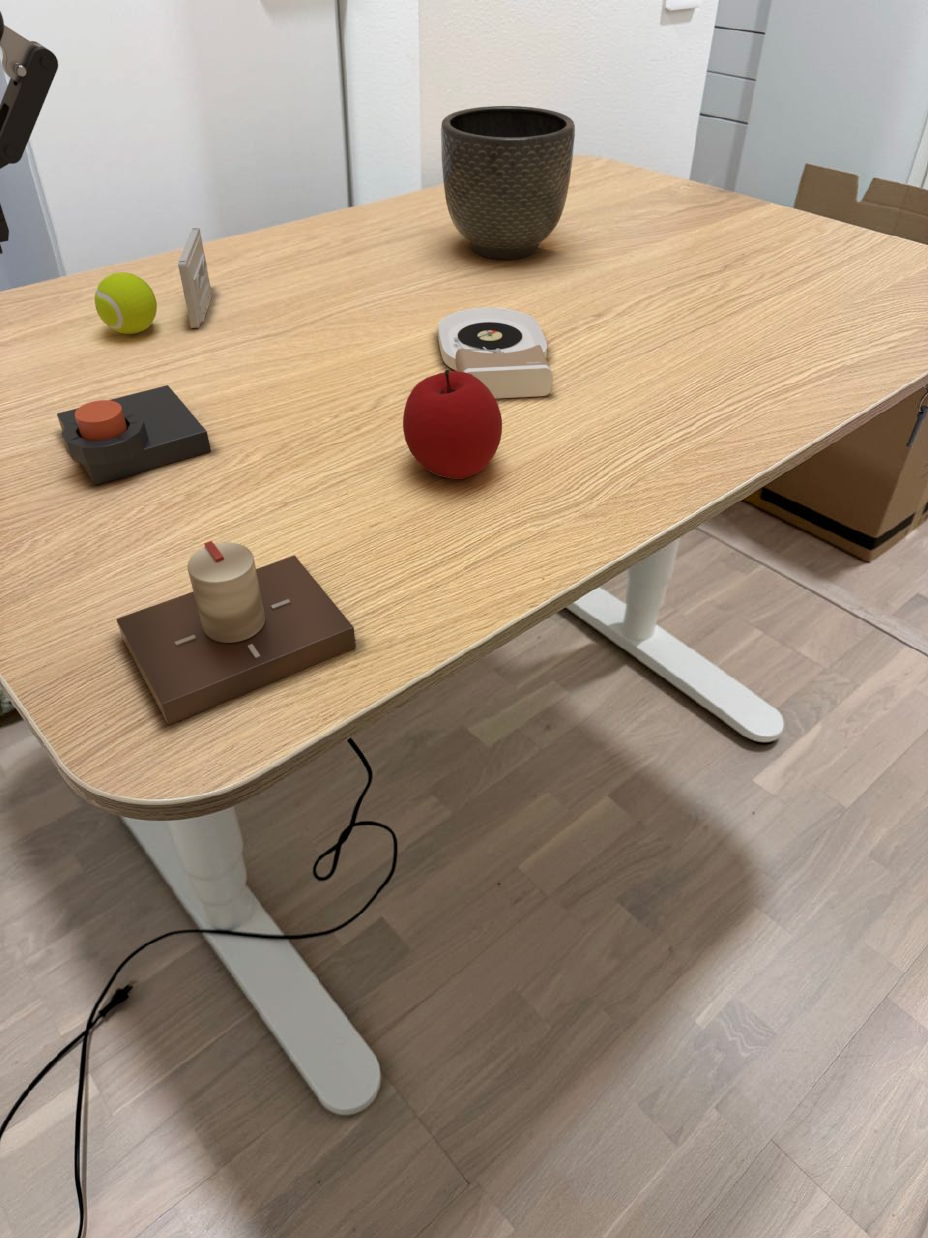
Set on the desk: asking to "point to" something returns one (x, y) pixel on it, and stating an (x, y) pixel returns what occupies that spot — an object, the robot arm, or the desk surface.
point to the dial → (227, 591)
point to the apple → (452, 424)
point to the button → (100, 420)
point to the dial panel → (215, 671)
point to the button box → (138, 437)
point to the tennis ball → (125, 303)
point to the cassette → (195, 278)
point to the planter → (506, 176)
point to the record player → (497, 350)
